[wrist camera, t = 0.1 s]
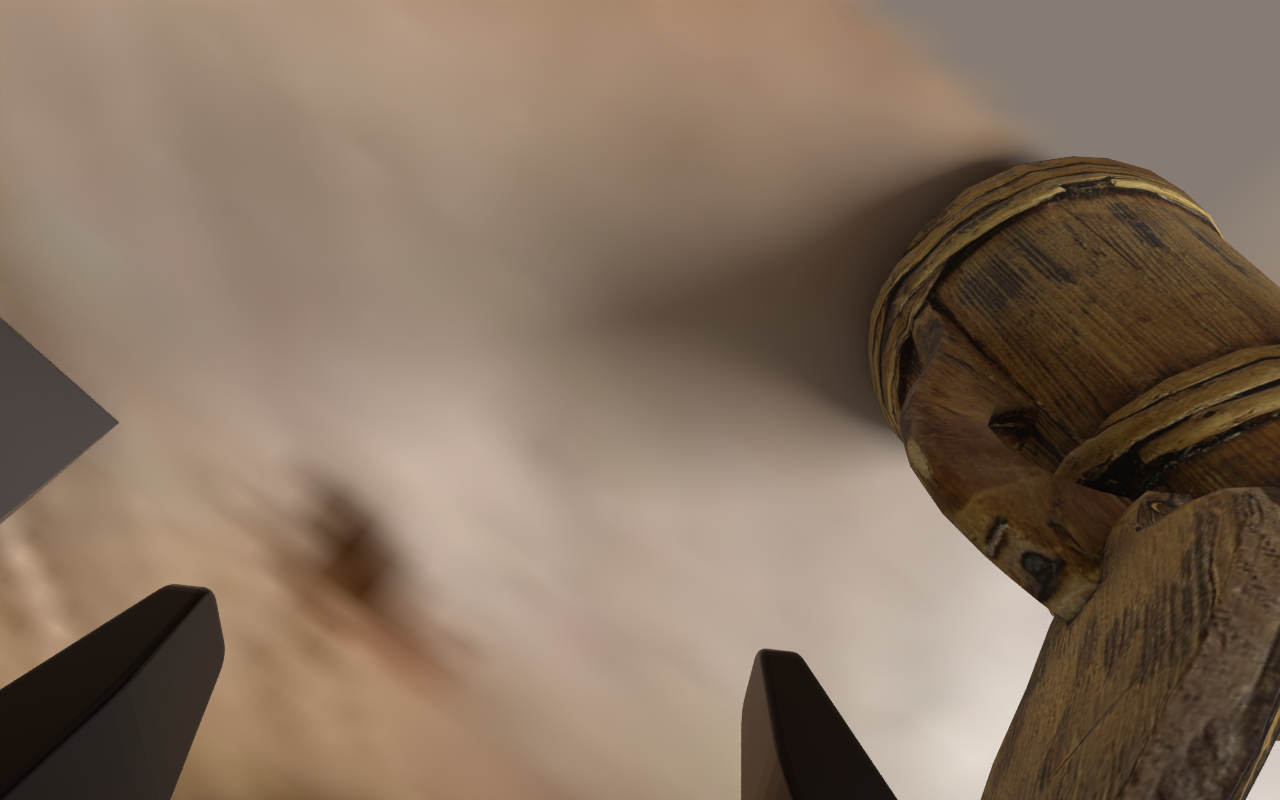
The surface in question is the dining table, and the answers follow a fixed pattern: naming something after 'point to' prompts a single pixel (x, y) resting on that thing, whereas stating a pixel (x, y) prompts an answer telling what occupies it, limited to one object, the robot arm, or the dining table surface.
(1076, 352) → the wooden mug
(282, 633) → the dining table surface
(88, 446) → the chute block
